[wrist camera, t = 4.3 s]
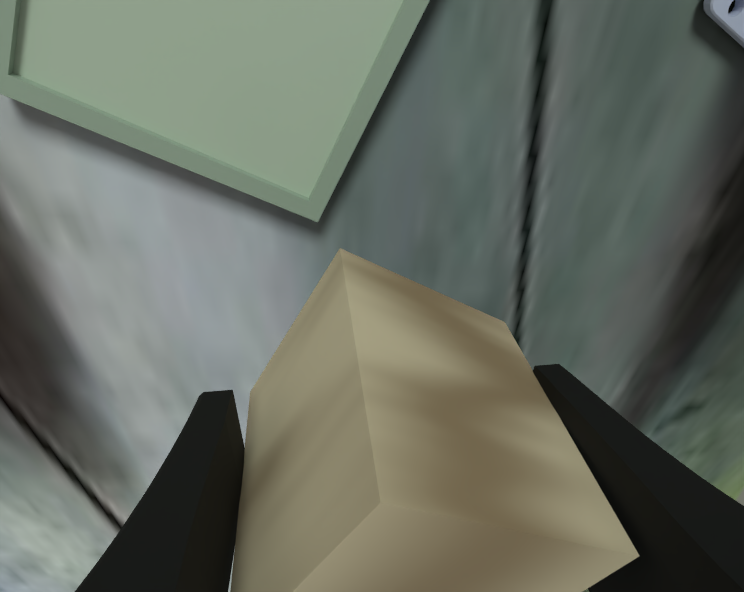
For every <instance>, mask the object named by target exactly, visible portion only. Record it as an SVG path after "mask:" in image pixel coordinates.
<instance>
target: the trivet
mask: <svg viewBox="0 0 744 592" xmlns="http://www.w3.org/2000/svg"><path fill="white" fill-rule="evenodd" d="M429 1H430V0H0V94H2V95H4V96H7V97H9V98H12V99H14V100H17V101H19V102H22V103H24V104H27V105H29V106H31V107H34V108H36V109H39V110H41V111H44V112H46V113H49V114H51V115H54V116H56V117H59V118H61V119H64V120H66V121H69V122H71V123H73V124H76V125H78V126H81V127H83V128H86V129H88V130H91V131H93V132H96V133H98V134H101V135H103V136H106V137H108V138H111V139H113V140H115V141H118V142H120V143H123V144H125V145H128V146H130V147H133V148H135V149H138V150H140V151H143V152H145V153H148V154H150V155H152V156H155V157H157V158H160V159H162V160H165V161H167V162H170V163H172V164H175V165H177V166H180V167H182V168H185V169H187V170H190V171H192V172H194V173H197V174H199V175H202V176H204V177H207V178H209V179H212V180H214V181H217V182H219V183H222V184H224V185H227V186H229V187H232V188H234V189H236V190H239V191H241V192H244V193H246V194H249V195H251V196H254V197H256V198H259V199H261V200H264V201H266V202H269V203H271V204H274V205H276V206H278V207H281V208H283V209H286V210H288V211H291V212H293V213H296V214H298V215H301V216H303V217H306V218H308V219H311V220H313V221H316V222H318V221H319V219H320V217H321V215H322V213H323V211H324V209H325V207H326V205H327V203H328V201H329V199H330V197H331V195H332V193H333V191H334V189H335V187H336V185H337V183H338V181H339V179H340V177H341V175H342V173H343V171H344V169H345V167H346V165H347V163H348V161H349V159H350V157H351V155H352V153H353V151H354V149H355V147H356V145H357V143H358V141H359V139H360V137H361V135H362V133H363V132H364V130H365V128H366V126H367V124H368V122H369V120H370V118H371V116H372V114H373V112H374V110H375V108H376V106H377V104H378V102H379V100H380V98H381V96H382V94H383V92H384V90H385V88H386V86H387V84H388V82H389V80H390V78H391V76H392V74H393V72H394V70H395V68H396V66H397V64H398V62H399V60H400V58H401V56H402V54H403V52H404V50H405V48H406V46H407V44H408V42H409V40H410V38H411V36H412V34H413V32H414V30H415V28H416V26H417V24H418V23H419V21H420V19H421V17H422V15H423V13H424V11H425V9H426V7H427V5H428V3H429Z"/></svg>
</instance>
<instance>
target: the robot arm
mask: <svg viewBox="0 0 744 592" xmlns="http://www.w3.org/2000/svg"><path fill="white" fill-rule="evenodd" d="M733 1H734V0H704V3H703V5H704V11H705V12H706V14H707V15H708V16H709V17H710V18H711V19H713V20H714V21H715V22H716V23H717V24H718V25H719V26H720V27H721V28H722V29H724V30H725V31H726V32H727V33H728V34H729V35H730V36H731V37H732V38H733V39H735V40H736V41H737V42H738V43H739V44H740V45H741V46H742V47H743V48H744V0H735V6H734V8H733V9H732V11H731V12H730V13H729V14H728V9H729V6H730V4H731V3H732V2H733ZM533 373H534V375H535V377H536V378H537V380H538V382H539V384H540V385H541V387H542V389H543V391H544V392H545V394H546V396H547V397H548V399H549V401H550V403H551V404H552V406H553V408H554V409H555V411H556V412H557V414H558V415H559V417H560V419H561V421H562V422H563V424H564V426H565V428H566V429H567V431H568V433H569V435H570V436H571V438H572V440H573V441H574V443H575V445H576V447H577V448H578V450H579V452H580V454H581V455H582V457H583V459H584V461H585V462H586V464H587V466H588V467H589V469H590V471H591V473H592V474H593V476H594V478H595V480H596V481H597V483H598V485H599V486H600V488H601V490H602V492H603V493H604V495H605V497H606V499H607V500H608V502H609V504H610V506H611V507H612V509H613V511H614V512H615V514H616V516H617V518H618V519H619V521H620V523H621V525H622V526H623V528H624V530H625V532H626V533H627V535H628V537H629V538H630V540H631V542H632V544H633V545H634V547H635V549H636V551H637V552H638V554H639V557H637V558H636V559H634V560H633V561H631V562H629V563H628V564H626V565H624V566H623V567H621V568H620V569H618V570H616V571H615V572H613V573H612V574H610V575H608V576H607V577H605V578H604V579H602V580H600V581H599V582H597V583H596V584H594V585H592V586H591V587H589V588H588V590H589V592H744V506H743V505H741V504H740V503H738V502H737V501H735V500H734V499H732V498H731V497H729V496H728V495H726V494H725V493H723V492H722V491H720V490H719V489H717V488H716V487H714V486H713V485H711V484H710V483H708V482H707V481H706V480H704V479H703V478H701V477H700V476H698V475H697V474H696V473H694V472H693V471H692V470H690V469H689V468H688V467H686V466H685V465H683V464H682V463H681V462H679V461H678V460H677V459H675V458H674V457H673V456H671V455H670V454H669V453H667V452H666V451H665V450H663V449H662V448H661V447H660V446H658V445H657V444H656V443H654V442H653V441H652V440H650V439H649V438H648V437H647V436H645V435H644V434H643V433H642V432H640V431H639V430H638V429H637V428H635V427H634V426H633V425H632V424H631V423H629V422H628V421H627V420H626V419H624V418H623V417H622V416H621V415H620V414H618V413H617V412H616V411H615V410H614V409H612V408H611V407H610V406H609V405H608V404H606V403H605V402H604V401H603V400H602V399H600V398H599V397H598V396H597V395H596V394H594V393H593V392H592V391H591V390H590V389H589V388H587V387H586V386H585V385H584V384H583V383H581V382H580V381H579V380H578V379H577V378H576V377H574V376H573V375H572V374H571V373H569V372H568V371H567V370H566V369H565V368H563V367H562V366H561V365H559V364H553V365H540V366H535V367H534V370H533ZM244 449H245V448H244V443H243V438H242V434H241V429H240V424H239V419H238V414H237V409H236V404H235V399H234V394H233V390H225V391H212V392H203V393H202V394H201V395H200V396H199V398H198V400H197V402H196V404H195V406H194V408H193V410H192V412H191V414H190V416H189V418H188V420H187V422H186V424H185V426H184V428H183V429H182V431H181V433H180V435H179V437H178V439H177V440H176V442H175V444H174V446H173V448H172V449H171V451H170V453H169V454H168V456H167V458H166V459H165V461H164V463H163V464H162V466H161V468H160V469H159V471H158V473H157V474H156V476H155V478H154V479H153V481H152V483H151V484H150V486H149V488H148V489H147V491H146V492H145V494H144V495H143V497H142V498H141V500H140V501H139V503H138V504H137V506H136V507H135V509H134V510H133V512H132V513H131V515H130V516H129V518H128V519H127V521H126V522H125V524H124V525H123V527H122V528H121V530H120V531H119V533H118V534H117V536H116V537H115V539H114V540H113V541H112V543H111V544H110V546H109V547H108V548H107V550H106V551H105V552H104V554H103V555H102V557H101V558H100V559H99V561H98V562H97V563H96V565H95V566H94V567H93V569H92V570H91V571H90V573H89V574H88V575H87V577H86V578H85V579H84V580H83V582H82V583H81V584H80V586H79V587H78V588H77V590H76V591H75V592H228V587H229V581H230V574H231V568H232V561H233V555H234V548H235V542H236V532H237V521H238V511H239V502H240V495H241V488H242V478H243V467H244Z"/></svg>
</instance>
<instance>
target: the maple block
mask: <svg viewBox="0 0 744 592" xmlns="http://www.w3.org/2000/svg"><path fill="white" fill-rule="evenodd" d="M637 557H639V554H638V552H637V551H636V549H635V547H634V545H633V544H632V542H631V540H630V538H629V537H628V535H627V533H626V532H625V530H624V528H623V526H622V525H621V523H620V521H619V519H618V518H617V516H616V514H615V512H614V511H613V509H612V507H611V506H610V504H609V502H608V500H607V499H606V497H605V495H604V493H603V492H602V490H601V488H600V486H599V485H598V483H597V481H596V480H595V478H594V476H593V474H592V473H591V471H590V469H589V467H588V466H587V464H586V462H585V461H584V459H583V457H582V455H581V454H580V452H579V450H578V448H577V447H576V445H575V443H574V441H573V440H572V438H571V436H570V435H569V433H568V431H567V429H566V428H565V426H564V424H563V422H562V421H561V419H560V417H559V415H558V414H557V412H556V411H555V409H554V408H553V406H552V404H551V403H550V401H549V399H548V397H547V396H546V394H545V392H544V391H543V389H542V387H541V385H540V384H539V382H538V380H537V378H536V377H535V375H534V373H533V370H532V369H531V367H530V365H529V364H528V362H527V360H526V358H525V357H524V355H523V353H522V351H521V350H520V348H519V346H518V344H517V343H516V341H515V339H514V338H513V336H512V334H511V332H510V331H509V329H508V327H507V325H506V324H505V322H503V321H501V320H498V319H496V318H494V317H492V316H490V315H487V314H485V313H483V312H481V311H478V310H476V309H474V308H472V307H469V306H467V305H465V304H463V303H461V302H458V301H456V300H454V299H452V298H449V297H447V296H445V295H443V294H441V293H438V292H436V291H434V290H432V289H429V288H427V287H425V286H423V285H421V284H418V283H416V282H414V281H412V280H409V279H407V278H405V277H403V276H401V275H398V274H396V273H394V272H392V271H389V270H387V269H385V268H383V267H380V266H378V265H376V264H374V263H372V262H369V261H367V260H365V259H363V258H360V257H358V256H356V255H354V254H352V253H349V252H347V251H345V250H343V249H339V251H338V252H337V254H336V255H335V257H334V259H333V260H332V262H331V263H330V265H329V267H328V268H327V270H326V271H325V273H324V275H323V276H322V278H321V279H320V281H319V283H318V284H317V286H316V287H315V289H314V291H313V292H312V294H311V296H310V297H309V299H308V300H307V302H306V304H305V305H304V307H303V308H302V310H301V312H300V313H299V315H298V316H297V318H296V320H295V321H294V323H293V324H292V326H291V328H290V329H289V331H288V332H287V334H286V336H285V337H284V339H283V340H282V342H281V344H280V345H279V347H278V348H277V350H276V352H275V353H274V355H273V356H272V358H271V360H270V361H269V363H268V364H267V366H266V368H265V369H264V371H263V372H262V374H261V376H260V377H259V379H258V380H257V382H256V384H255V385H254V387H253V388H252V390H251V392H250V400H249V410H248V420H247V430H246V441H245V451H244V467H243V478H242V488H241V495H240V502H239V511H238V521H237V532H236V542H235V552H234V562H233V572H232V582H231V592H583V591H584V590H586V589H587V588H589V587H591V586H592V585H594V584H596V583H597V582H599V581H600V580H602V579H604V578H605V577H607V576H608V575H610V574H612V573H613V572H615V571H616V570H618V569H620V568H621V567H623V566H624V565H626V564H628V563H629V562H631V561H633V560H634V559H636V558H637Z"/></svg>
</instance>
